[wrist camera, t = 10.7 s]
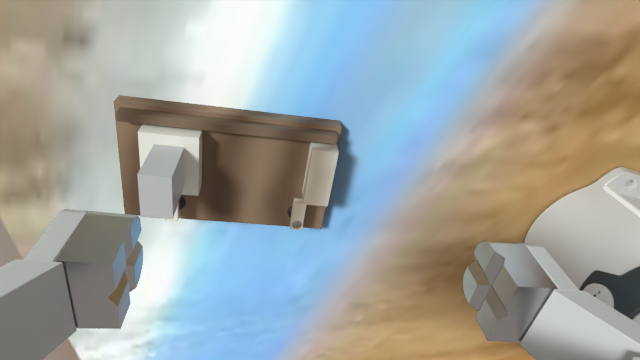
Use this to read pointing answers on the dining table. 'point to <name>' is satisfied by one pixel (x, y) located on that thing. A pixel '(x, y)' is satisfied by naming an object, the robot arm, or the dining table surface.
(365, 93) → the dining table surface
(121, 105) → the brown board with blocks
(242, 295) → the dining table surface
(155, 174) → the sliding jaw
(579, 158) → the dining table surface
